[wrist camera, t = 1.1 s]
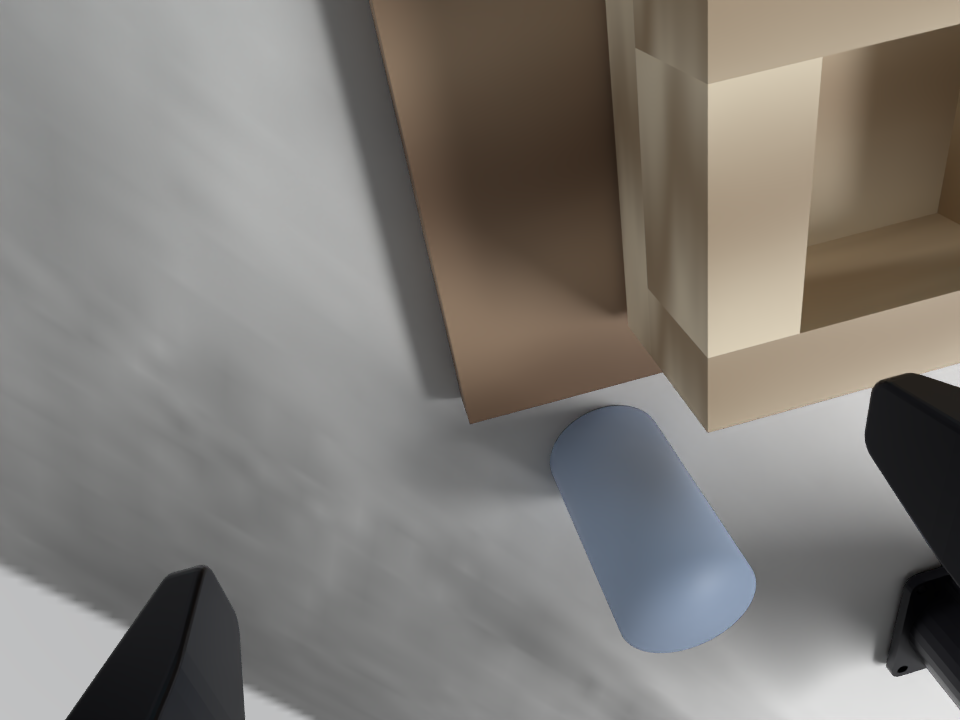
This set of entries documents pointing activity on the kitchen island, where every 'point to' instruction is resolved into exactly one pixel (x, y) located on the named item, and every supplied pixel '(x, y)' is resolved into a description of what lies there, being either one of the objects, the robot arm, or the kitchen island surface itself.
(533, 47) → the board
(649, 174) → the open box
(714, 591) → the light blue cylinder
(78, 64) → the kitchen island surface
